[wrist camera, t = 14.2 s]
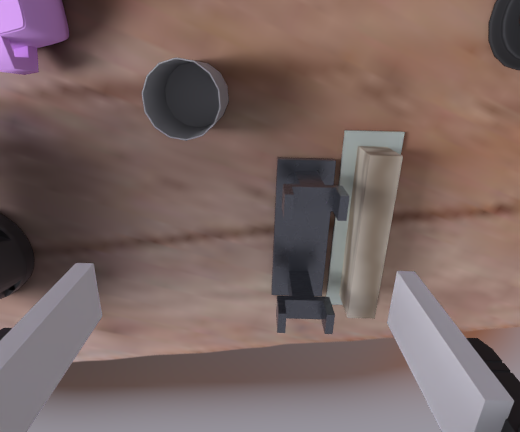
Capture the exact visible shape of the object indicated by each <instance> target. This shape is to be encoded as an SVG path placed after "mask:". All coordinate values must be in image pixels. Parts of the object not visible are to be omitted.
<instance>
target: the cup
mask: <svg viewBox="0 0 520 432" xmlns="http://www.w3.org/2000/svg"><path fill="white" fill-rule="evenodd" d="M142 99H143V105H144V111H145V113H146V115H147V116H148V118H149V120H150V121H151V123H152V124H153V126H154V127H155V128H156V129H158V130H159V131H160V132H162V133H163V134H165V135H166V136H168V137H169V138H175V139H180V140H186V141H187V140H190V139H194V138H197V137H200V136H203V135H204V134H205V133H206V132H207V131H208V130H209V129H210V128H211V127H212V126H213V125H215V123H216V122H217V121H218V120H219V119H220V118H221V117H222V116H223V115H224V112H225V110H226V107H227V104H228V102H229V99H228V86H227V84H226V82H225V81H224V79H223V77H222V75H221V73H220V72H219V71H217V70H216V69H215V68H213V67H212V66H211V65H210V64H208V63H204V62H198V61H193V60H187V59H182V58H173V59H170V60H167V61H163V62H160V63H158V64H157V65H156V66H155V68H154V69H153V70H152V71H151V72H150V73H149V74H148V75H147V76H146V80H145V83H144V87H143V90H142Z"/></svg>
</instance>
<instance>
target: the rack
mask: <svg viewBox="0 0 520 432" xmlns="http://www.w3.org/2000/svg"><path fill="white" fill-rule="evenodd" d="M335 165H336V160H335V159H322V158H285V157H278V158H277V180H276V203H275V225H274V247H273V270H272V295H289V296H277V309H276V317H277V333H285V326H286V318H296V319H321V320H322V324H323V328H324V333H325V334H332V333H333V325H334V317H335V314H334V311H333V307H332V304H331V301H330V297H317V296H322V288H323V279H324V269H325V260H326V250H327V241H328V231H329V222H330V212H331V211H333V212H334V214H335V216H336V218H337V220H338V221H347V213H348V205H349V197H350V196H349V195H348V193H347V192H346V190H345V189H344V188H343V186H339V185H333V184H334V175H335Z"/></svg>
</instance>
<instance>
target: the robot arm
mask: <svg viewBox="0 0 520 432" xmlns="http://www.w3.org/2000/svg"><path fill="white" fill-rule="evenodd" d="M33 267H34V255H33V251H32V248H31V245H30V243H29V241H28V239H27V238H26V236H25V235H24V233H23V232H22V231H21V230H20V229H19V227H18V226H17V225H15V224H14V223H13V222H12V221H11V220H9V219H8V218H6V217H5V216H3V215H1V214H0V299H2V298H4V297H7V296H9V295H10V294H12V293H14V292H15V291H16V290H18V289H19V288H20V287H21V286H22V285H23V284H24V283H25V282H26V281H27V280H28V279H29V277H30V276H31V274H32V271H33ZM101 317H102V311H101V305H100V299H99V293H98V287H97V280H96V274H95V268H94V263H75V264H74V265H73V266H72V267H71V268H70V269H69V271H68V272H67V273H66V274H65V275H64V276H63V277H62V278H61V279H60V280H59V281H58V282H57V283H56V284H55V285H54V286H53V287H52V288H51V289H50V290H49V291H48V292H47V293H46V294H45V295H44V296H43V297H42V298H41V299H40V300H39V301H38V302H37V303H36V304H35V305H34V306H33V307H32V308H31V309H30V311H29V312H28V313H27V314H26V315H25V316H24V317H23V318H22V319H21V320H20V321H19V322H18V323H17V324H16V325H15V326H14V327H13V328H3V329H1V330H0V432H27V431H28V429H29V428H30V426H31V424H32V423H33V422H34V420H35V418H36V417H37V415H38V414H39V412H40V411H41V409H42V408H43V406H44V405H45V403H46V402H47V400H48V399H49V397H50V395H51V394H52V392H53V391H54V389H55V388H56V386H57V385H58V383H59V381H60V380H61V379H62V377H63V376H64V374H65V372H66V371H67V369H68V368H69V366H70V365H71V363H72V362H73V360H74V359H75V357H76V356H77V354H78V353H79V351H80V350H81V348H82V347H83V345H84V343H85V342H86V340H87V339H88V337H89V336H90V334H91V333H92V331H93V330H94V328H95V327H96V325H97V324H98V322H99V321H100V319H101ZM387 324H388V326H389V328H390V330H391V332H392V334H393V336H394V338H395V340H396V342H397V344H398V346H399V348H400V350H401V352H402V354H403V356H404V358H405V360H406V362H407V364H408V366H409V368H410V370H411V372H412V374H413V376H414V378H415V380H416V382H417V384H418V385H419V387H420V390H421V392H422V394H423V396H424V397H425V400H426V402H427V404H428V406H429V408H430V410H431V411H432V414H433V416H434V417H435V420H436V422H437V424H438V426H439V428H440V430H441V431H442V432H520V382H519V380H518V379H517V378H516V377H515V376H514V374H513V373H510V370H509V369H508V367H507V366H506V365H505V364H504V363H502V360H501V359H500V358H499V357H498V355H497V354H496V353H495V352H494V351H493V349H492V348H490V347H489V346H488V345H486V344H484V343H483V342H482V341H481V340H479V339H478V338H466V337H465V336H464V335H463V334H462V332H461V331H460V330H459V328H458V327H457V326H456V324H455V323H454V322H453V321H452V319H451V318H450V317H449V315H448V314H447V313H446V311H445V310H444V309H443V308H442V306H441V305H440V304H439V302H438V301H437V300H436V298H435V297H434V296H433V295H432V293H431V292H430V291H429V289H428V288H427V287H426V285H425V284H424V283H423V282H422V280H421V279H420V278H419V276H418V275H417V274H416V272H415V271H397V274H396V279H395V284H394V290H393V295H392V300H391V305H390V311H389V316H388V321H387Z"/></svg>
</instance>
